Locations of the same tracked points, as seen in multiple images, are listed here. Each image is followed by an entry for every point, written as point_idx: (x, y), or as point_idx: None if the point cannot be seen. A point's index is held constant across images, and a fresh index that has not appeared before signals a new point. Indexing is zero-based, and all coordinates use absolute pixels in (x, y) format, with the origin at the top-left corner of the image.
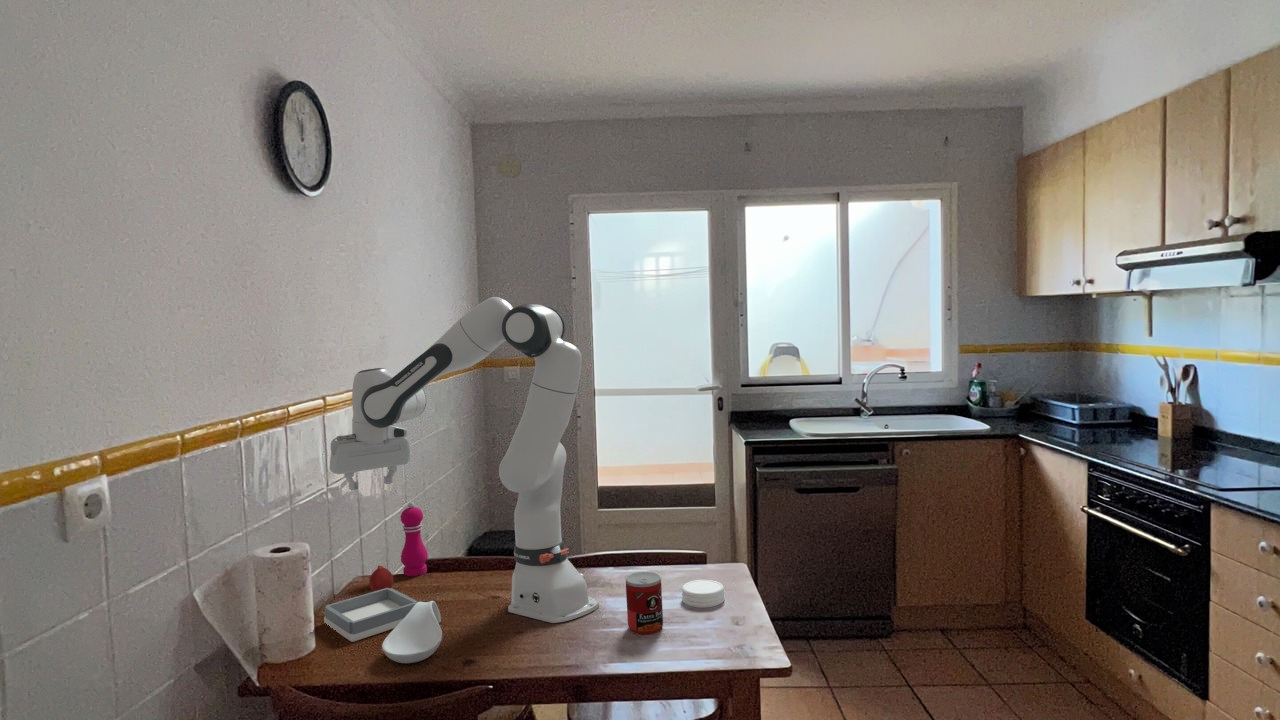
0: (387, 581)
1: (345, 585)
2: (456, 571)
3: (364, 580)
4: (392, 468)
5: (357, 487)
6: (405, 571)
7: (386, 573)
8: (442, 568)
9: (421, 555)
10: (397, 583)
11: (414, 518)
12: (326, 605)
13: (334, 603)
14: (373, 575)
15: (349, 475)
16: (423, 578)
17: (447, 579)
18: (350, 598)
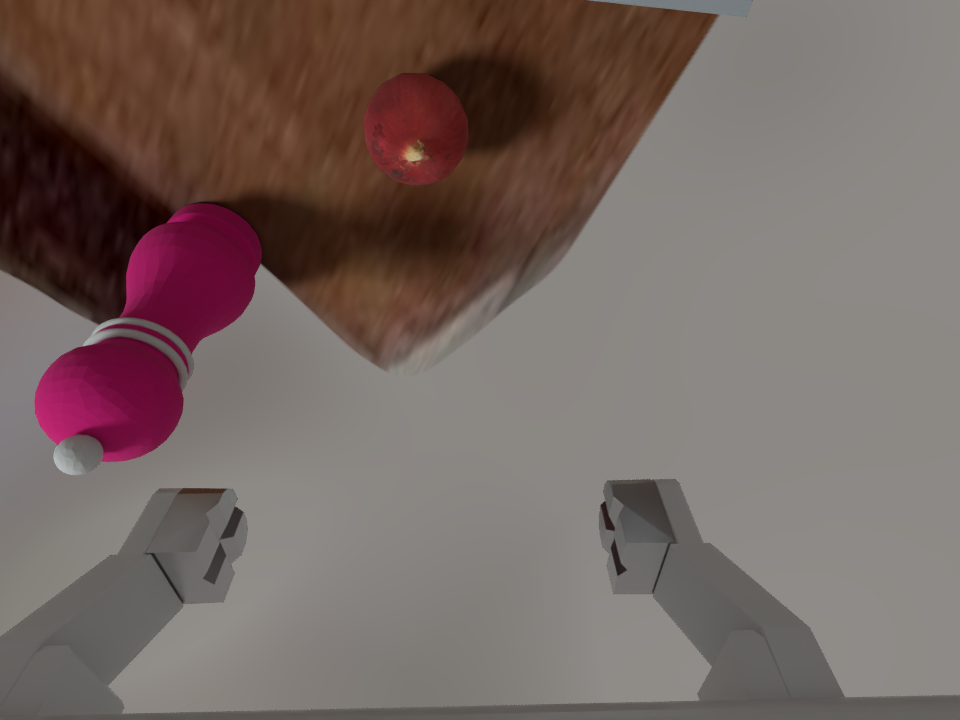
0: (410, 77)
1: (453, 321)
2: (44, 110)
3: (389, 316)
4: (47, 675)
5: (617, 491)
6: (255, 249)
7: (403, 104)
8: (99, 202)
9: (166, 236)
10: (315, 193)
11: (106, 358)
12: (744, 13)
13: (712, 6)
14: (454, 139)
15: (804, 654)
16: (207, 156)
17: (110, 39)
18: (636, 3)
